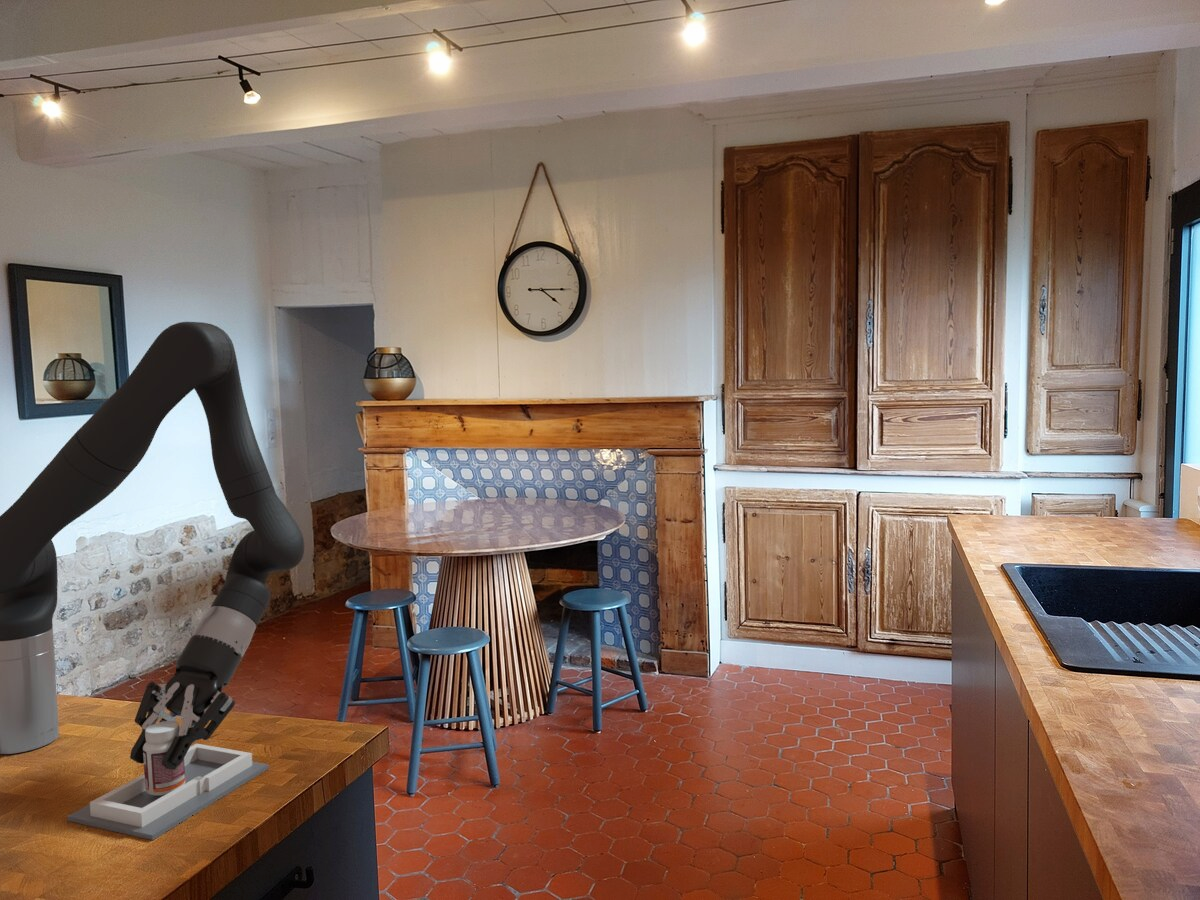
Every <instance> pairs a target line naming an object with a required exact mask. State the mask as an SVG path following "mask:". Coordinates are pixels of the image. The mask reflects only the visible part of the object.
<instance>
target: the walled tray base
mask: <svg viewBox="0 0 1200 900" xmlns="http://www.w3.org/2000/svg"><path fill="white" fill-rule="evenodd" d="M184 765H185V784H184V785H182V786H180V787H178V788H177V789H175V790H173V791H171V792H170V793H168V794H166V795H159V796H155V795H150V794H148V793H147V792H146V789H145V774H144V773H143V774H141V775H139V776H137V777H136V778H134V779H131V780H130V781H128V782H126V783H124V784H122V785H120V786H118V787H116V788H114V789H112V790H110V791H108V792H107V793H105V794H103V795H101V796H99V797H97V798H96V799H93V800H91V801H89V804H87V805H86V806H84V807H82V808H80V809H78V810H76V811H74V812H73V813H70V814H69V815H66V817H67V821H68V822H71V823H76V824H81V825H84V826H88V827H93V828H98V829H100V830H101V829H102V830H106V831H111V832H115V833H120V834H122V835H123V834H124V835H127V836H133V837H138V838H141V839H146V840H149V841H154V840H156V839H157V838H159V837H160V836H162V835H164V834H165V833H167V832H168V830H169V831H171V830H172V829H173V828H176V827H177V826H178V825H180V824H182V823H183V822H185V821H186V820H188V819H189V817H190V818H192V817H193V816H194V815H196V814H198V813H200V812H201V811H202V810H204V809H206V808H207V807H209V806H211V805H213V804H214V803H215V802H217V801H218V799H219V800H220V799H222V798H224V797H225V796H227V795H228V794H230V793H232V792H234V791H235V790H237V789H238V788H241V786H243V785H244V784H246V783H248V782H249V781H251V780H253V779H254V778H257V777H258V776H259V775H261V774H262V773H265V771H268V770H269V769H270V767H269V766H270V764H267V763H264V762H257V761H253V753H252V752H247V751H242V750H235V749H232V748H231V749H230V748H224V747H218V746H212V745H208V744H203V743H201V744H200V743H195V744H193V745H191V746H190V748H189V750H188V751H187V753H186V755H185V757H184ZM223 796H224V797H223ZM192 815H193V816H192ZM181 822H182V823H181ZM179 823H180V824H179ZM176 825H177V826H176ZM166 831H167V832H166ZM163 833H164V834H163ZM155 838H156V839H155Z"/></svg>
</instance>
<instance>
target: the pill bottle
mask: <svg viewBox="0 0 1200 900" xmlns="http://www.w3.org/2000/svg"><path fill="white" fill-rule="evenodd" d="M179 730H180V723H179V722H177V721H176V720H175V721H164V722H160V721H158V722H156V723H155V724H153V725H150V726H149V727H147V728H146V730H145V738H146V741H147V742H146V743H145V744H144V746H143V759H144V763H143V771H144V773H143V774H145V789H146V792H147V793H148V794H150V795H155V796H159V795H166V794H168V793H170V792H171V791H173V790H175V789H177V788H178V787H180V786H182V785H184V784H185V765H184V759H183V761H182V763H181V764H180V765H179V766H177V768H176V769H175V770H172V769H168V768H166V767H165V766H163V765H162V760H163V758H164V757H165V755H166V753H167V751H168V749H169V747H170V746H171V744H172V742H173V740H174V738H175V736H180V735H179Z"/></svg>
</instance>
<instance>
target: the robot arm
mask: <svg viewBox="0 0 1200 900" xmlns="http://www.w3.org/2000/svg"><path fill="white" fill-rule="evenodd" d="M240 376H241V375H240V370H239V364H238V358H237V354H236V350H235V347H234V343H233V340H232V339H231V337H230V336H229V334H228V333H226V331H224V330H223V329H222V328H221V327H219V326H217V325H214V324H212V323H208V322H200V321H199V322H198V321H181V322H177V323H174V324H171V325H170V326H168V327H166V328H165V329H164V330H162V331H161V332H160V333H159V335H158V336H156V338H155V339H154V341H153V342H152V344H151V345H150V347H149V348H148V349H147V350H146V352H145V354H143V356H142V358H141V359H140V361H139V362H138V364H137V365H136V366H135V368H134V369H133V371H132V372H131V373H130V374H129V375H128V377H127V379H126V380H125V381H124V382H123V383H122V384H121V385H120V387H119V388H118V389H117V390H116V391H115V392H114V393H113V394H112V395H110V396H109V398H108V399H106V401H105V402H104V403H103V404H102V405H100V406H99V408H98V409H97V410H96V411H95V412H94V413H93V415H92V416H90V418H89V419H88V420H87V421H85V423H83V424H82V426H80V428H79V429H78V430H77V431H76V432H75V433H74V434H73V435H72V436H71V437H70V439H69V440H68V441H67V442H66V443H65V444H64V446H62V448H61V449H60V450H59V451H58V452H57V454H56V455H55V456H54V457H53V458H52V459H51V461H50V462H49V463H48V464H47V465H46V466H45V467H44V468H43V469H42V470H41V472H40V473H39V474H38V475H37V476H36V478H35V479H34V480H33V481H32V482H31V483H30V484H29V485H28V487H27V488H26V489H25V491H24V492H22V494H21V495H20V496H19V498H17V499H16V500H15V502H14V503H13V504H12V505H10V506H9V508H8V509H6V510H5V511H4V512H3V513H2V514H0V755H11V754H18V753H19V754H20V753H24V752H25V753H26V752H29V751H33V750H36V749H39V748H42V747H44V746H47V745H49V744H50V743H53V742H54V741H56V739H58V737H59V736H60V727H59V726H60V725H59V708H58V706H59V705H58V692H57V691H58V690H57V689H58V688H57V678H56V677H57V675H56V673H57V672H56V659H55V658H56V657H55V645H54V644H55V643H54V640H55V639H54V627H53V626H54V625H53V618H54V614H55V612H56V608H57V606H58V605H57V604H58V558H57V552H56V548H55V544H54V543H53V538H54V537H55V536H57V534H59V533H60V532H61V531H62V530H63V529H65V528H66V527H67V526H68V525H70V524H71V523H73V522H74V521H76V519H78V518H80V517H81V516H83V515H84V514H86V513H87V512H88V511H90V510H91V509H93V508H94V507H96V506H97V505H98V504H100V503H101V502H102V501H103V500H105V499H106V498H107V497H109V495H110V494H112V493H113V492H114V491H115V490H116V489H117V488H118V487H119V486H120V485H121V484H122V483H123V482H124V481H125V480H126V479H127V478H128V476H130V474H131V473H132V472H133V471H134V470H135V469H136V468H137V466H138V465H139V464H140V462H141V461H142V460H143V459H144V457H145V456H146V454H147V452H148V450H149V448H150V446H151V444H152V442H153V440H154V437H155V435H156V433H157V430H158V429H159V427H160V425H161V423H163V420H164V419H165V418H166V417H167V416H168V414H169V413H170V412H171V411H172V410H173V409H174V408H175V407H176V406H177V405H178V404H179V403H180V402H181V401H182V400H183V399H184V398H185V397H186V396H188V395H189V394H190V393H191V392H192V391H193V390H194V391H195V393H196V394H197V397H198V399H199V400H200V402H201V405H202V407H203V410H204V414H205V417H206V421H207V424H208V431H209V438H210V439H209V440H210V449H211V457H212V463H213V467H214V471H215V475H216V477H217V481H218V483H219V486H220V489H221V490H222V493H223V494H222V495H223V496H224V498H225V501H226V504H227V507H228V509H229V511H230V513H231V514H232V515H233V516H234V517H236V518H238V519H243V520H246V521H247V522H248V523H249V524H250V526H251V528H252V530H251V531H250V532H248V533H246V534H245V535H244V536H243V537H242V538H241V539H240V541H238V543H237V545H236V546H235V549H234V551H233V552H232V554H231V555H232V556H231V558H230V561H229V565H228V568H227V572H226V575H225V581H224V584H223V585H222V587H221V588H220V590H219V591H218V594H216V597H215V598H214V600H213V601H212V603H211V605H210V607H209V609H208V610H207V611H206V613H205V614H204V616H203V617H202V618H201V620H200V621H199V623H198V624H197V626H196V628H195V629H194V631H193V633H192V635H191V636H190V638H189V640H188V641H187V643H186V645H185V646H184V648H183V650H182V652H181V654H180V656H179V657H178V658H177V660H176V663H175V673H174V675H172V677H171V678H170V679H168V681H167V682H166V683H161V684H157V683H156V682H155V681H150V682H149V683H148V684H147V685H146V687H145V690H144V693H143V695H142V698H141V700H140V703H139V707H138V709H137V713H136V716H135V718H134V723H136V724H137V725H138V726H139V727H140V728H141V732H140V735H139V736H138V738H137V739H136V741H135V743H134V745H133V747H132V748H131V750H130V755H129V758H130V760H132V761H133V762H136V763H137V764H141V765H142V764H143V765H144V759H143V746H144V744H145V743H146V742H147V741H146V738H145V730H146V728H147V727H149V726H150V725H153V724H155V723H158V722H164V721H175V722H176V721H177V719H178V718H179V717H180V718H181V722H180V723H181V724H180V725H179V729H180V730H179V736H175V738H174V740H173V742H172V744H171V746H170V747H169V749H168V751H167V753H166V755H165V757H164V758H163V760H162V765H163V766H165V767H166V768H168V769H172V770H175V769H176V768H177V766H179V765H180V764H181V763H182V761H183V759H184V757H185V755H186V753H187V751H188V750H189V748H190V747H191V746H192V744H193V743H196V741H199V740H203V741H208V740H209V739H210V738H211V737H212V735H213V734H214V732H216V730H217V729H218V727H219V726H220V725H221V723H222V722H223V721H224V720H225V718H226V717H227V715H229V713H230V712H231V711H232V709H233V708H234V707H235V705H236V701H235V699H233V698H232V697H231V696H230V695H228V694H227V693H226V692H223V688H224V687H226V686H228V685H229V683H230V682H231V679H232V678H233V675H234V674H235V672H236V670H237V668H238V667H239V664H240V662H241V661H242V659H243V657H244V655H245V653H246V651H247V649H248V647H249V646H250V643H251V641H252V638H253V636H254V634H255V631H256V628H257V627H258V625H259V623H260V622H261V619H262V617H263V616H264V613H265V611H266V609H267V608H268V606H269V603H270V602H271V598H272V597H271V590H270V588H269V587H268V586H267V585H266V582H267V579H268V578H269V576H270V575H271V574H272V573H277V572H284V571H289V570H291V569H293V568H295V567H297V566H298V565H299V564H300V563H301V561H302V560H303V557H304V554H305V541H304V536H303V533H302V531H301V529H300V527H299V525H298V524H297V522H296V520H295V519H294V517H293V516H292V514H291V513H290V511H289V510H288V508H287V507H286V506H285V504H284V503H283V501H282V500H281V499H280V497H279V496H278V495H277V492H276V490H275V486H274V484H273V481H272V478H271V476H270V472H269V470H268V468H267V465H266V462H265V460H264V456H263V455H262V452H261V450H260V446H259V444H258V441H257V439H256V435H255V431H254V428H253V426H252V423H251V422H252V420H251V418H250V416H249V412H248V408H247V403H246V399H245V395H244V391H243V386H242V380H241V377H240ZM166 710H168V711H169V712H167V711H166Z"/></svg>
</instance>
